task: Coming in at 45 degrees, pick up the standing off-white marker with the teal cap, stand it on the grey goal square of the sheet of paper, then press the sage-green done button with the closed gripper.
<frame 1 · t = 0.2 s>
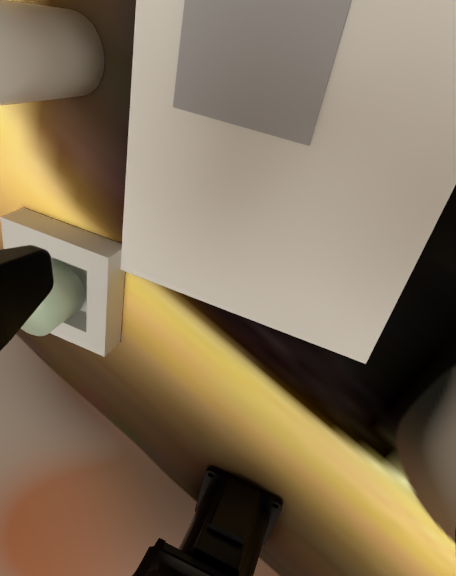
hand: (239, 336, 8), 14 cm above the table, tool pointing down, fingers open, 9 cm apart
done button: (44, 297, 27), point 3 cm above the table, slide at 0.0 cm
marker: (72, 54, 22), on the table
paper: (274, 165, 21), on the table
button housing: (74, 277, 29), on the table
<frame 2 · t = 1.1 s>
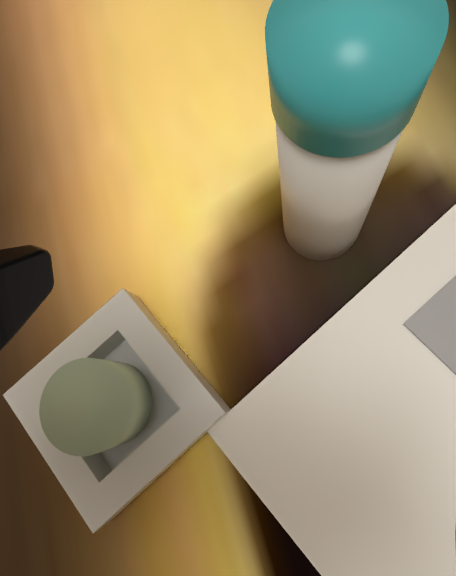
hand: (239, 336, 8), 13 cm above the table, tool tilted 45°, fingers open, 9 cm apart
done button: (99, 404, 19), point 3 cm above the table, slide at 0.0 cm
marker: (321, 224, 22), on the table
button housing: (125, 401, 22), on the table
when the fingers open (8 cm above the table, at t = 7.1 s): marker stays where it is, resting on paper.
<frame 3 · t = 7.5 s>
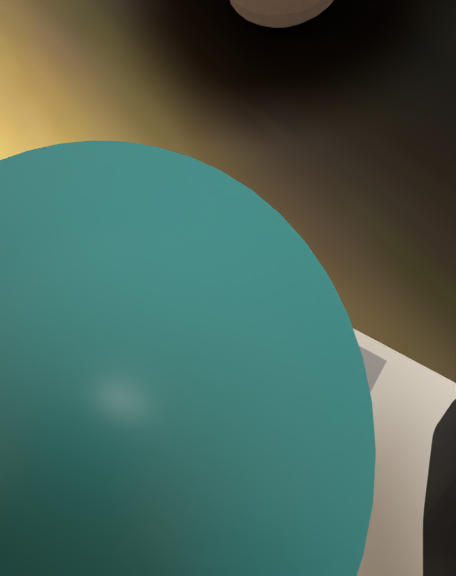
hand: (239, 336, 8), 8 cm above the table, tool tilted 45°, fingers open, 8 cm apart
decorative mushroom: (282, 5, 20), on the table
marker: (252, 397, 15), point 1 cm above the table, touching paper
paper: (233, 547, 15), on the table
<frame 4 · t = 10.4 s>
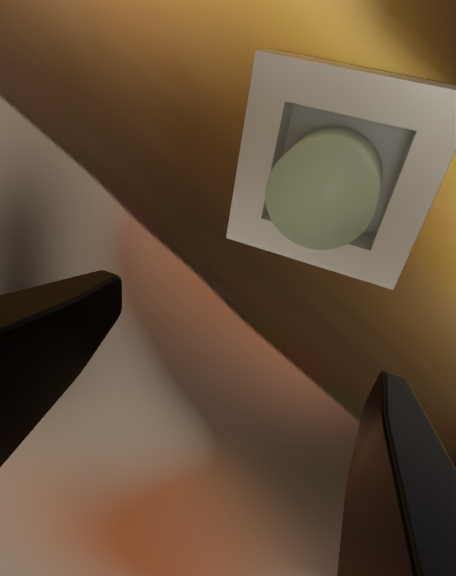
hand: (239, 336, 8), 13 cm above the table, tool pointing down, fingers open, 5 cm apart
done button: (325, 187, 16), point 3 cm above the table, slide at 0.0 cm
button housing: (337, 167, 19), on the table
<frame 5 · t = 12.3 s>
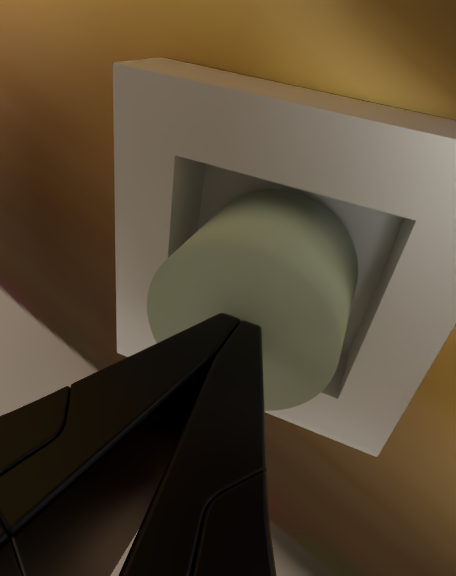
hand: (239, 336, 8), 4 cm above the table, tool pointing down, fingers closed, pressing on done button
done button: (258, 296, 9), point 2 cm above the table, slide at 0.6 cm, touching gripper
button housing: (285, 251, 11), on the table
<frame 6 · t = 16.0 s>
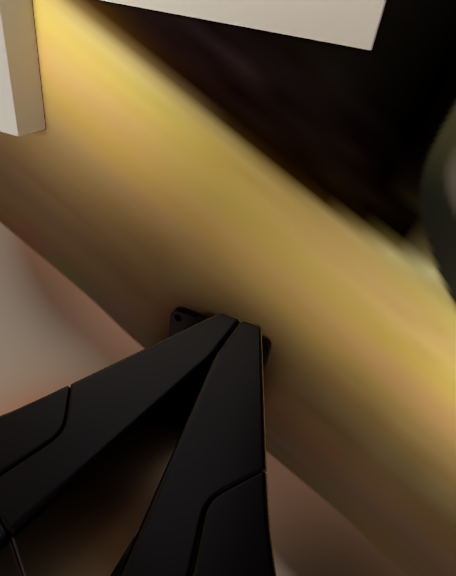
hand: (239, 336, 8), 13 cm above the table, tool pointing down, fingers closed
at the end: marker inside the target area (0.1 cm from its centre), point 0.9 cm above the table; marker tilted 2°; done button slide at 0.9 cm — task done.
